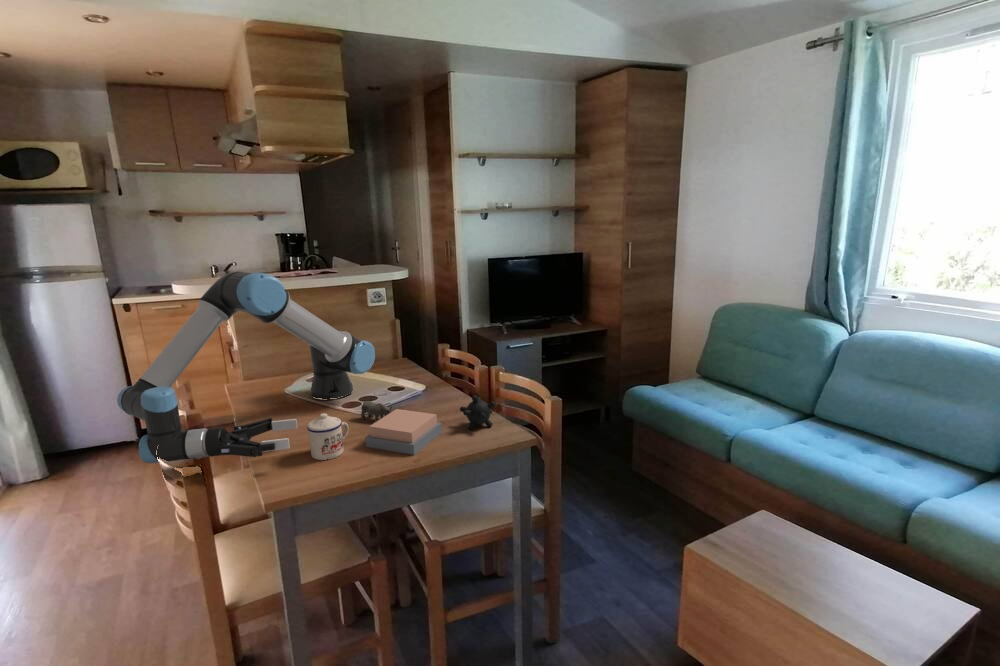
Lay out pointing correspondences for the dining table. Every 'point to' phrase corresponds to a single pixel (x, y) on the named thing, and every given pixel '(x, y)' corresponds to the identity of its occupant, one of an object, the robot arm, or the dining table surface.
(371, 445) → the brick plinth
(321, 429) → the teacup with lid
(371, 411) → the rhino figurine
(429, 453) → the dining table surface
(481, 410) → the toy ball
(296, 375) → the dining table surface
